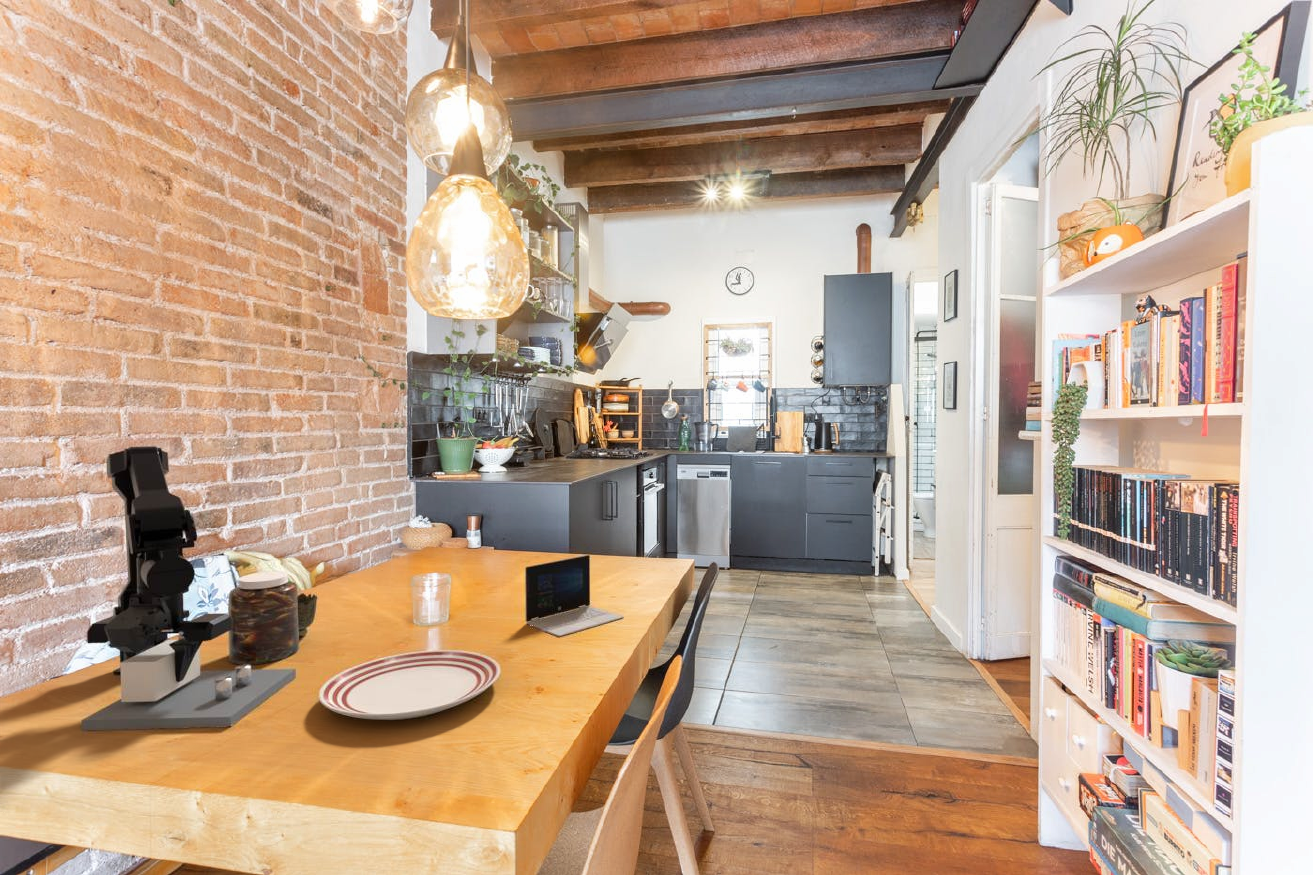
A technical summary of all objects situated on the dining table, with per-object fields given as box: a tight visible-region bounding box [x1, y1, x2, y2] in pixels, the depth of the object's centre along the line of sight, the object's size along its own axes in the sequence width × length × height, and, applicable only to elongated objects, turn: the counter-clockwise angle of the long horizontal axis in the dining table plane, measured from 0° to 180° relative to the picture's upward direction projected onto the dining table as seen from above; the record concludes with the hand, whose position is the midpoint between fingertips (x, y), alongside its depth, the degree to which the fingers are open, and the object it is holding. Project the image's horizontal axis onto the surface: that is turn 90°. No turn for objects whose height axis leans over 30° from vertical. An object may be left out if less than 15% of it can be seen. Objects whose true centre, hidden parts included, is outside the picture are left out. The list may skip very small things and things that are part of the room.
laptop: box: [524, 554, 624, 638], centre depth 141 cm, size 18×12×13 cm
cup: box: [298, 592, 318, 638], centre depth 132 cm, size 8×7×8 cm
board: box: [80, 668, 297, 731], centre depth 101 cm, size 21×18×2 cm
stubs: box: [215, 664, 252, 701], centre depth 101 cm, size 2×7×3 cm, turn 2°
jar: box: [227, 570, 300, 666], centre depth 122 cm, size 12×12×15 cm
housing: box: [119, 639, 201, 702], centre depth 101 cm, size 5×10×6 cm, turn 2°
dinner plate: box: [318, 649, 501, 721], centre depth 103 cm, size 28×27×3 cm
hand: (162, 681), depth 101 cm, fingers closed on housing, 5 cm apart
